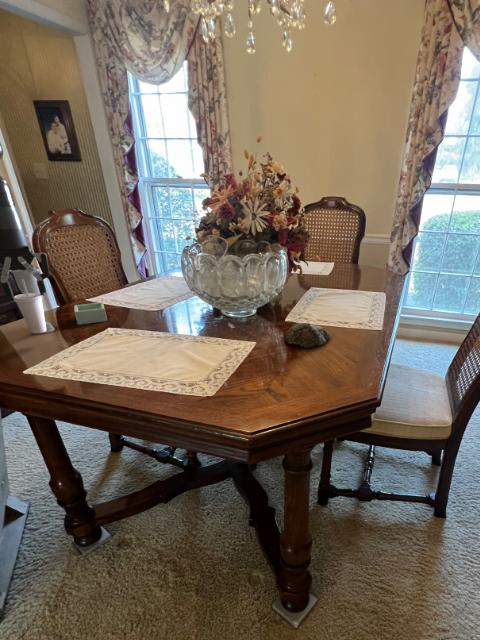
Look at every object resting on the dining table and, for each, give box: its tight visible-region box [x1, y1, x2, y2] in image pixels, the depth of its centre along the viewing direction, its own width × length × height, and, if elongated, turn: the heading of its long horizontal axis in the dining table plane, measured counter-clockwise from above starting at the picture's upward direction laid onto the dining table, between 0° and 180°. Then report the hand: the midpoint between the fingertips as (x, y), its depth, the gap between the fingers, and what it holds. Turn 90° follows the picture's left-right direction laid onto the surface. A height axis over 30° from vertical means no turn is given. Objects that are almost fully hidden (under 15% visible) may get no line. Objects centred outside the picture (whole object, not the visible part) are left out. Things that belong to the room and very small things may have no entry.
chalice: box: [10, 266, 56, 334], centre depth 111 cm, size 7×7×18 cm
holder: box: [73, 301, 108, 326], centre depth 124 cm, size 9×9×4 cm
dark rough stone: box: [285, 322, 330, 349], centre depth 109 cm, size 13×12×5 cm
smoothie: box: [13, 279, 46, 334], centre depth 101 cm, size 6×6×14 cm
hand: (27, 295), depth 100 cm, fingers closed on smoothie, 6 cm apart
